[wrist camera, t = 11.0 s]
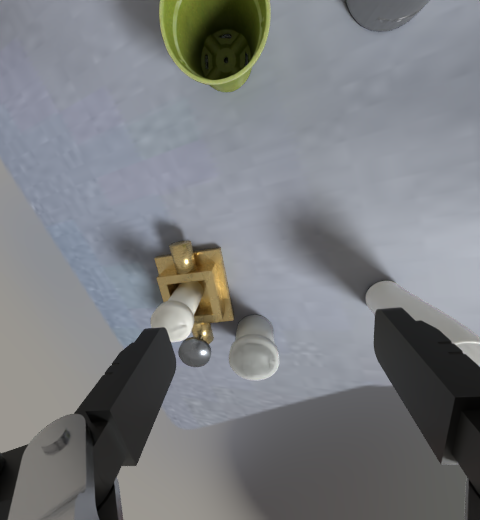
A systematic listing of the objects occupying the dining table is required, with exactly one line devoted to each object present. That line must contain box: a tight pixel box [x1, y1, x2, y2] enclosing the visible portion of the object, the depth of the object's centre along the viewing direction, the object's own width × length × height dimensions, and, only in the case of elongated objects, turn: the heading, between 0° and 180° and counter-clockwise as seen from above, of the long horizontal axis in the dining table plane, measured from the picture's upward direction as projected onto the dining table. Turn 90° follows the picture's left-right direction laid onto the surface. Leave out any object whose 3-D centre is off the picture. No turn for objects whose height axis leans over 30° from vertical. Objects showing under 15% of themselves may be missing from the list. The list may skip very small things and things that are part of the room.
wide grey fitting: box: [229, 315, 279, 380], centre depth 37 cm, size 7×7×7 cm
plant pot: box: [159, 0, 271, 92], centre depth 24 cm, size 9×9×9 cm
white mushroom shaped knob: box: [151, 281, 203, 342], centre depth 33 cm, size 5×5×9 cm
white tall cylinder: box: [365, 281, 480, 367], centre depth 29 cm, size 7×7×15 cm
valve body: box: [154, 241, 234, 367], centre depth 35 cm, size 17×10×8 cm, turn 9°
